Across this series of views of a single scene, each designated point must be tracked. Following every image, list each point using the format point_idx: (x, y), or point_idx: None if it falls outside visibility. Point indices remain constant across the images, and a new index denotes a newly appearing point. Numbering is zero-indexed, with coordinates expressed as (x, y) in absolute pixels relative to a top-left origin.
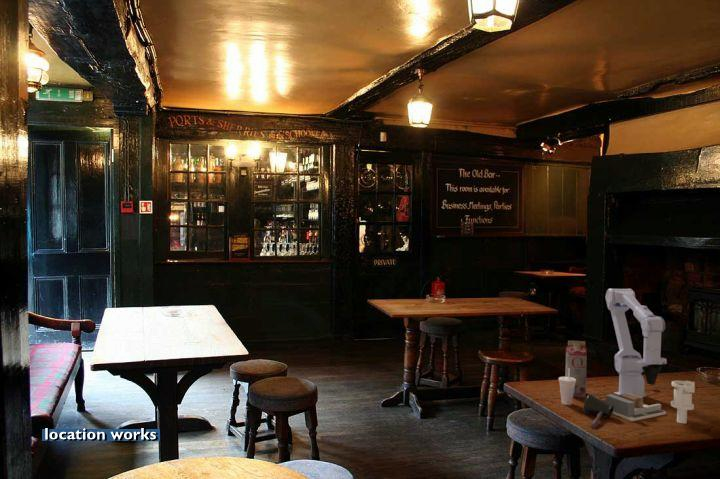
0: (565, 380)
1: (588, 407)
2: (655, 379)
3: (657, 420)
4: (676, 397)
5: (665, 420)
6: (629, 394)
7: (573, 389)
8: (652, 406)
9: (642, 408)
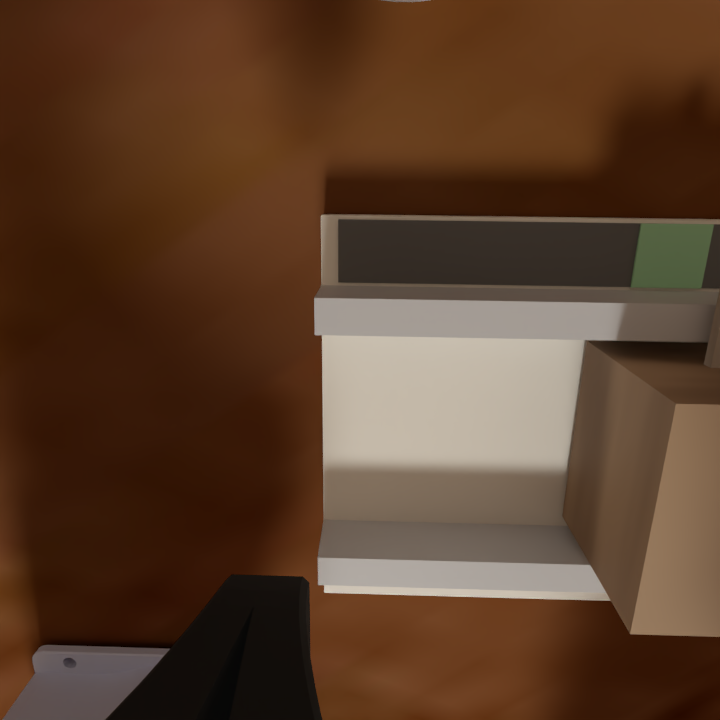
0: None
1: None
2: (191, 656)
3: (628, 108)
4: None
5: (537, 62)
6: (713, 582)
7: None
8: (492, 300)
9: (706, 302)
